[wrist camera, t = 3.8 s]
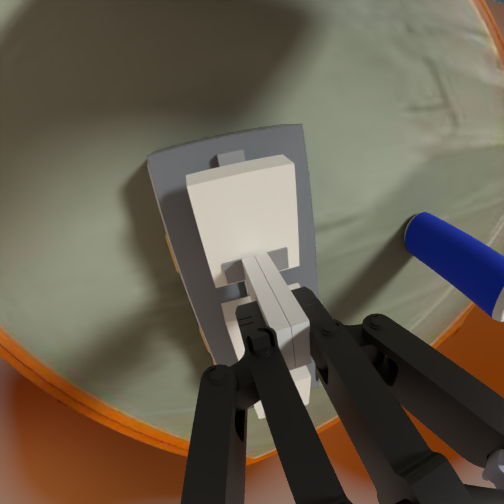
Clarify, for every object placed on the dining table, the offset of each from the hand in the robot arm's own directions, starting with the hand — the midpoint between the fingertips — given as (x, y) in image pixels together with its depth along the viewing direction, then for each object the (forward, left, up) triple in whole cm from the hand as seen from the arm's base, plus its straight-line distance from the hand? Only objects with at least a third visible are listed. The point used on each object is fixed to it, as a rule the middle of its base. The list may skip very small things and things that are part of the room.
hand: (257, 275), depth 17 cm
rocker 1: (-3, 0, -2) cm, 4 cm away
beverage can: (+5, +20, -7) cm, 22 cm away
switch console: (+6, 0, -7) cm, 9 cm away
